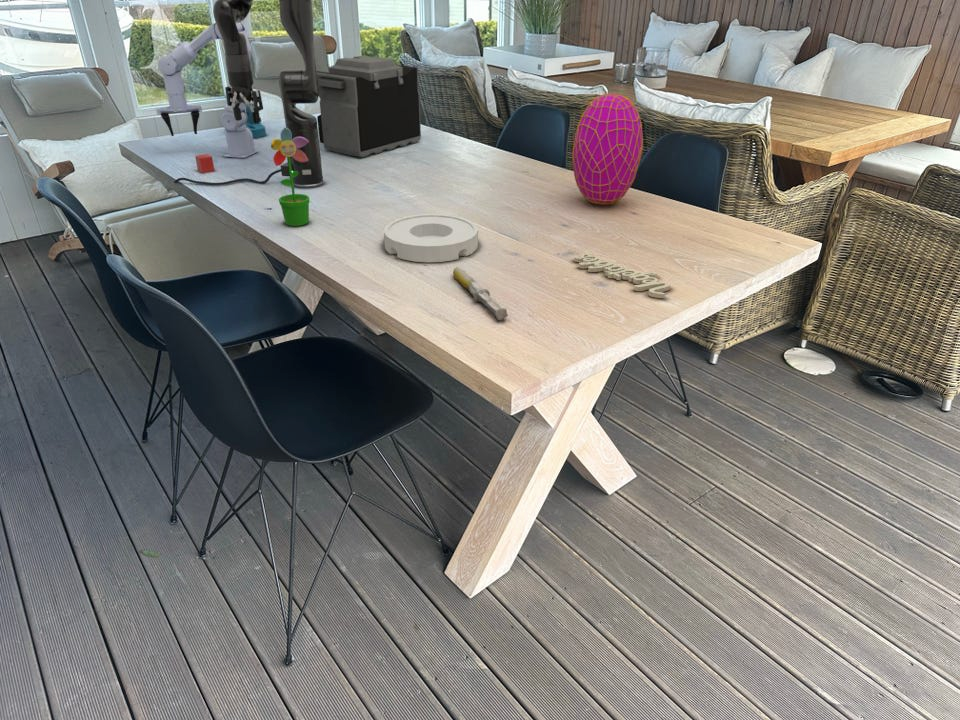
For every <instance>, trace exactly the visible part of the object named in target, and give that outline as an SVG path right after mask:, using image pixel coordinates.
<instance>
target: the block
mask: <svg viewBox="0 0 960 720" xmlns="http://www.w3.org/2000/svg"><path fill="white" fill-rule="evenodd" d="M194 157H195V162H196V168H197V171H198V172H200V173H201V174H206V173H212V172H215V165H214V160H213V156H212V155H210V154H208V153H205V154H199V155H194Z"/></svg>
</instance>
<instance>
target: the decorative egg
mask: <svg viewBox="0 0 960 720" xmlns="http://www.w3.org/2000/svg"><path fill="white" fill-rule="evenodd" d="M643 146H644V136H643V124H642V120H641V116H640V113H639V111H638V109H637V107H636V105H635V103H634V102H633V101H632V100H631V99H630V98H629V97H627V96H625V95H622V94H620V93H614V92H613V93H612V92H611V93H610V92H609V93H604V94H601V95H598V96H596V97H594V98H593V99H592V100H590V101H589V103H588V104H587V106H586V107H585V109H584V111H583V112H582V114H581V116H580V118H579V120H578V122H577V127H576V130H575V135H574V140H573V146H572V153H571V158H572V159H571V160H572V169H573V178H574V180H575V182H576V186H577V188H578V190H579V192H580V194H581V195H582V196H583V197H584V198H585V199H586V200H587V201H588V202H590V203H593V204H596V205H612V204H615V203H617V202H618V201H620V200H621V199H623V198H624V196H625V195H626V194H627V193H628V191H629V190H630V189H631V186H632V185H633V183H634V181H635V179H636V176H637V172H638V170H639V166H640V162H641V159H642V155H643V148H644V147H643Z"/></svg>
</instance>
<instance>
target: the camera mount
mask: <svg viewBox="0 0 960 720" xmlns="http://www.w3.org/2000/svg"><path fill="white" fill-rule="evenodd" d="M245 105H246V104H245ZM252 106H253V105H252ZM253 107H254V106H253ZM254 108H255V107H254ZM246 114H247V122H246V123H245V125H246V127H247V128H248V129H250V131H251V132H252V135H253V139H258V138H262V137H266V136H267V132H266V126H265V125H263V124H262V121H260V123H259V124H254V123H253V119H252V111H251V109H250V108H249V107H248V106H247V105H246Z"/></svg>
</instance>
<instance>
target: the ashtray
mask: <svg viewBox="0 0 960 720" xmlns="http://www.w3.org/2000/svg"><path fill="white" fill-rule="evenodd" d="M383 238H384V239H383V240H384V249H385V251H386V252H387V253H388V254H390V255H396V256H397V258H398V259H401V260H403V261H410V262H415V263H416V262H417V263H443V262H450V261H455V260H459V257H461V256H464V257H468V256H470V255H472V254H473V253H474V252H475V251H477V249H478V246H479V227H478V225H477V224H475V222H473V221H471V220H469V219H468V218H465V217H461V216H459V215H457V216H456V215H451V214H446V213H445V214H443V213H421V214H420V213H419V214H413V215H407V216H403V217H399V218H397V219H394V220H392V221H391V222H388V223H387V224H386V225H385V226H384V228H383Z"/></svg>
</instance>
